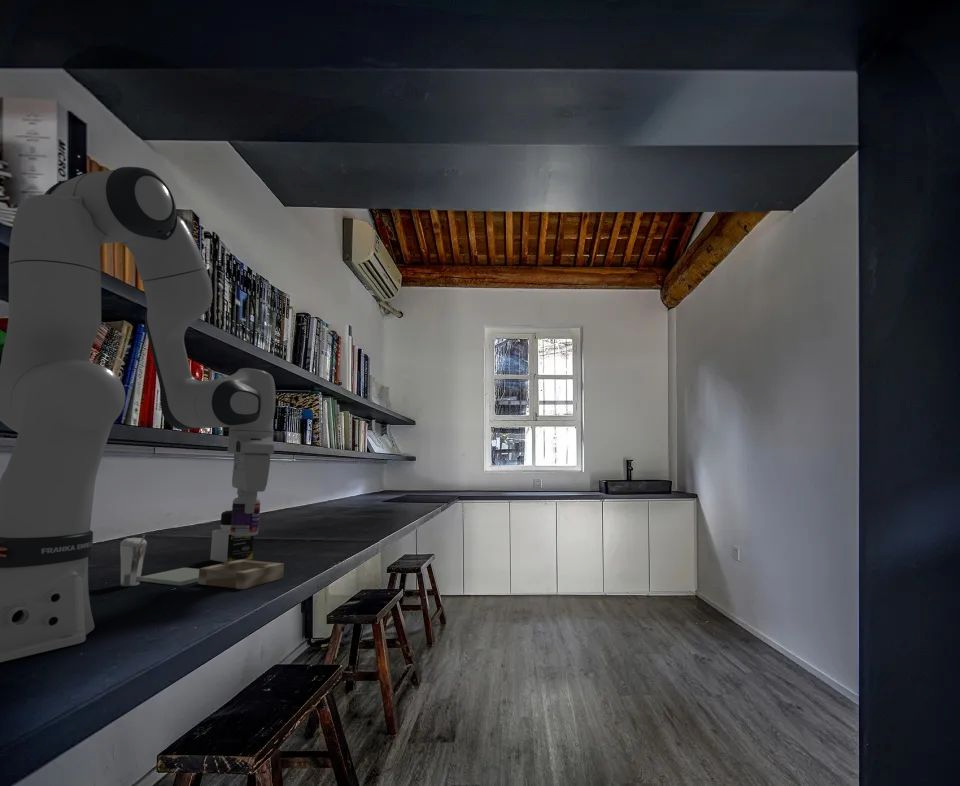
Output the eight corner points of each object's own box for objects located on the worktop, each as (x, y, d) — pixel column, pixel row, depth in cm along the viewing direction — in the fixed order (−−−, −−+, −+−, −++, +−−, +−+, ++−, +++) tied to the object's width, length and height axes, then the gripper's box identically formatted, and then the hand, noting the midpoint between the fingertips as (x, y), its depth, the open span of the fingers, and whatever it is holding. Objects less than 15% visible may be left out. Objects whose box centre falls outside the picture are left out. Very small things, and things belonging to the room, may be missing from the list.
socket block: (243, 589, 110) (244, 572, 110) (198, 583, 114) (199, 567, 114) (283, 578, 121) (284, 562, 121) (240, 573, 125) (241, 558, 125)
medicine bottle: (227, 563, 136) (230, 512, 137) (209, 560, 140) (213, 510, 141) (253, 559, 142) (255, 510, 143) (235, 556, 146) (238, 508, 147)
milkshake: (128, 588, 109) (132, 535, 110) (111, 585, 111) (116, 533, 112) (151, 584, 113) (155, 533, 114) (134, 581, 115) (138, 531, 116)
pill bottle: (256, 536, 116) (259, 488, 117) (228, 536, 115) (231, 488, 116) (259, 533, 121) (262, 487, 123) (232, 533, 120) (236, 486, 121)
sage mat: (180, 585, 112) (180, 581, 112) (139, 580, 116) (139, 576, 116) (222, 575, 122) (223, 571, 122) (184, 571, 126) (184, 567, 126)
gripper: (227, 445, 128) (222, 508, 126) (242, 444, 110) (237, 516, 109) (257, 446, 131) (252, 507, 129) (276, 445, 114) (271, 515, 112)
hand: (245, 511), depth 119 cm, fingers closed on pill bottle, 5 cm apart
